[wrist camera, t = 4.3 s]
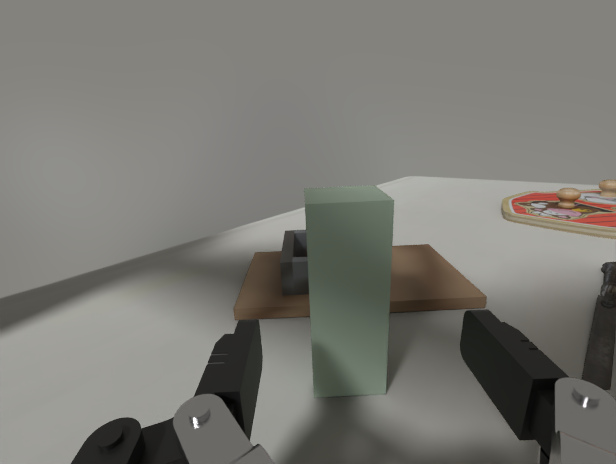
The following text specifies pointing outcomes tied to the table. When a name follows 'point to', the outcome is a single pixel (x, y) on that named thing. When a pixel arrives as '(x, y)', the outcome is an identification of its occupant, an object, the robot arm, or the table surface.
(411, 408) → the table surface
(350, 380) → the peg block
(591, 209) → the knob puzzle
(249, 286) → the tool stand
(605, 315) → the hacksaw
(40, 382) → the table surface
